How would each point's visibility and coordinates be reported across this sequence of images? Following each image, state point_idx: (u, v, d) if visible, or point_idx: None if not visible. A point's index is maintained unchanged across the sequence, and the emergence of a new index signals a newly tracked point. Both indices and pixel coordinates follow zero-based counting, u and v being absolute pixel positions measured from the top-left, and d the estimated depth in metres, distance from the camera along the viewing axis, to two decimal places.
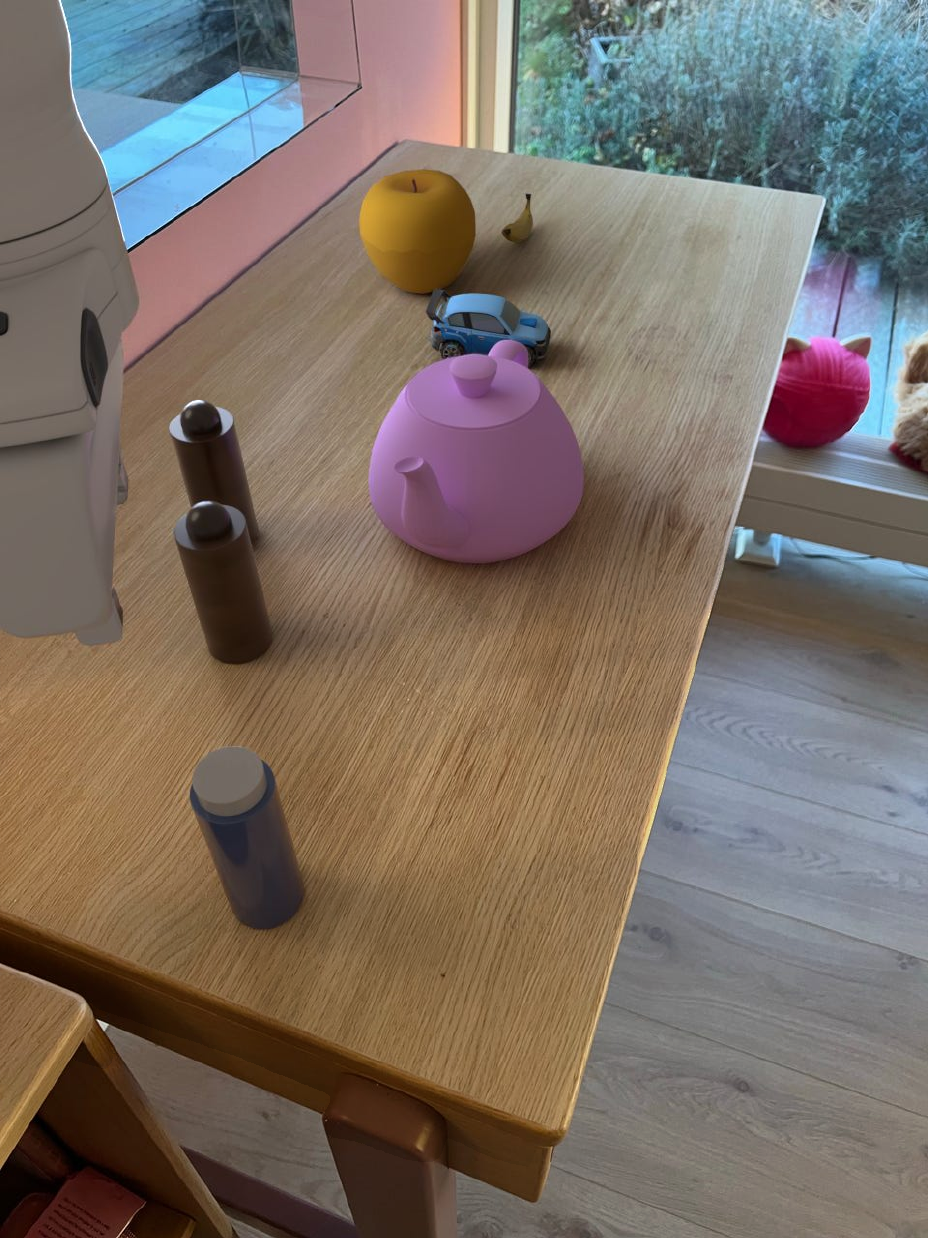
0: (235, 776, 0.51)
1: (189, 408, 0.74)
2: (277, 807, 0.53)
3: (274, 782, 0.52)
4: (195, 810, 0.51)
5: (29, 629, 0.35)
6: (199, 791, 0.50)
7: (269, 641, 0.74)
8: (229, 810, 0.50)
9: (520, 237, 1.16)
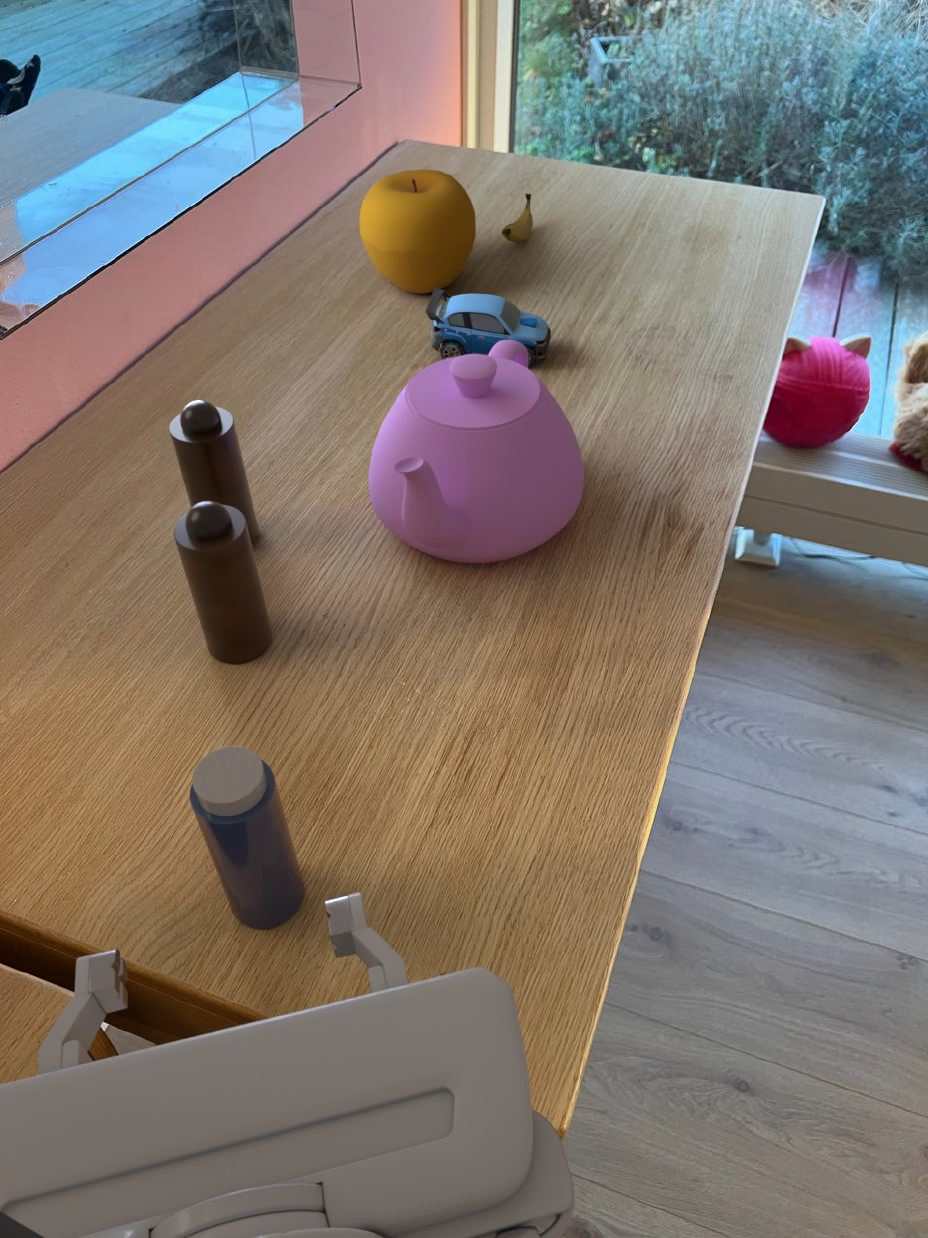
0: (235, 776, 0.51)
1: (189, 408, 0.74)
2: (277, 807, 0.53)
3: (274, 782, 0.52)
4: (195, 810, 0.51)
5: None
6: (199, 791, 0.50)
7: (269, 641, 0.74)
8: (229, 810, 0.50)
9: (520, 237, 1.16)
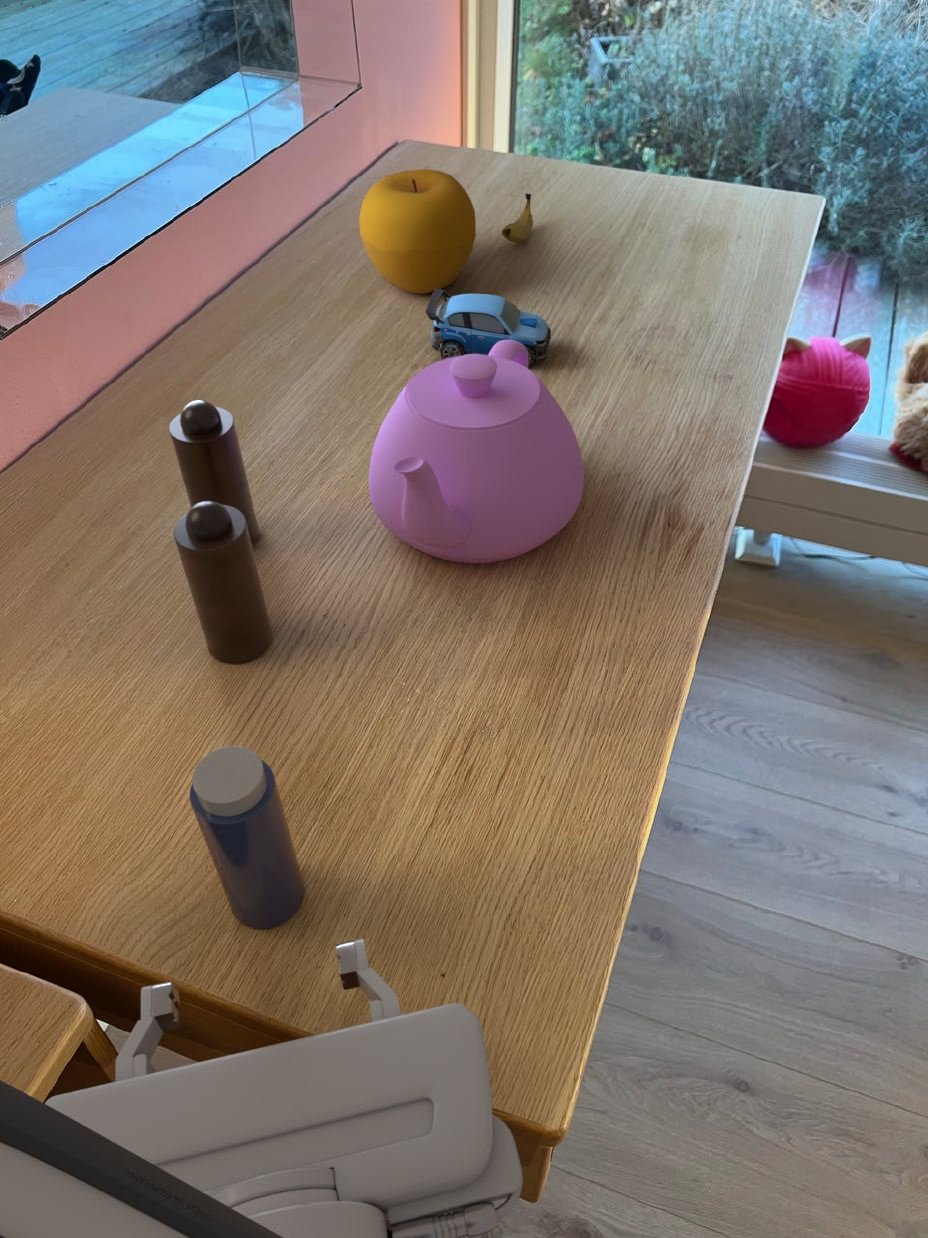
0: (235, 776, 0.51)
1: (189, 408, 0.74)
2: (277, 807, 0.53)
3: (274, 782, 0.52)
4: (195, 810, 0.51)
5: None
6: (199, 791, 0.50)
7: (269, 641, 0.74)
8: (229, 810, 0.50)
9: (520, 237, 1.16)
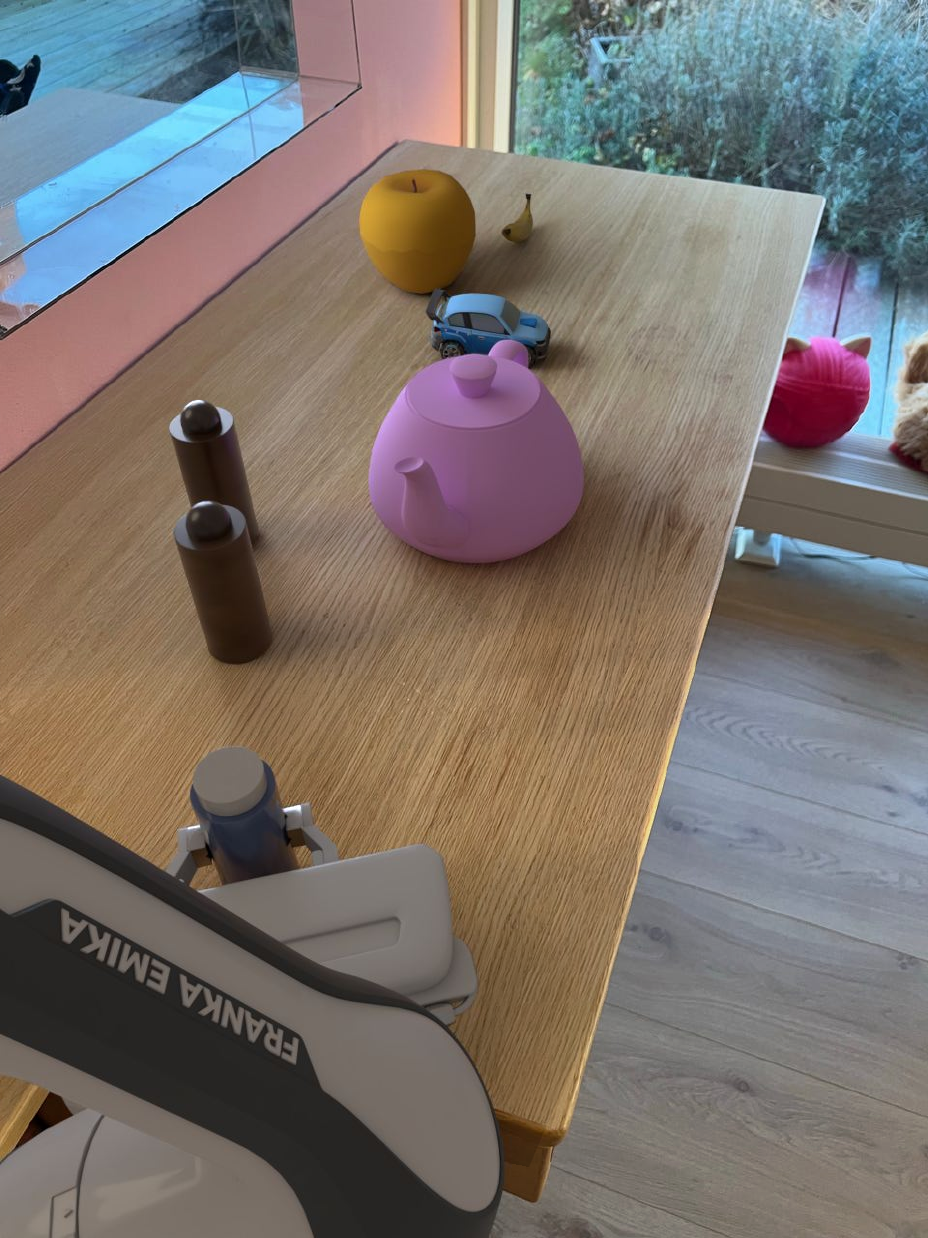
0: (235, 776, 0.51)
1: (189, 408, 0.74)
2: (277, 807, 0.53)
3: (274, 782, 0.52)
4: (195, 810, 0.51)
5: None
6: (199, 791, 0.50)
7: (269, 641, 0.74)
8: (230, 810, 0.50)
9: (520, 237, 1.16)
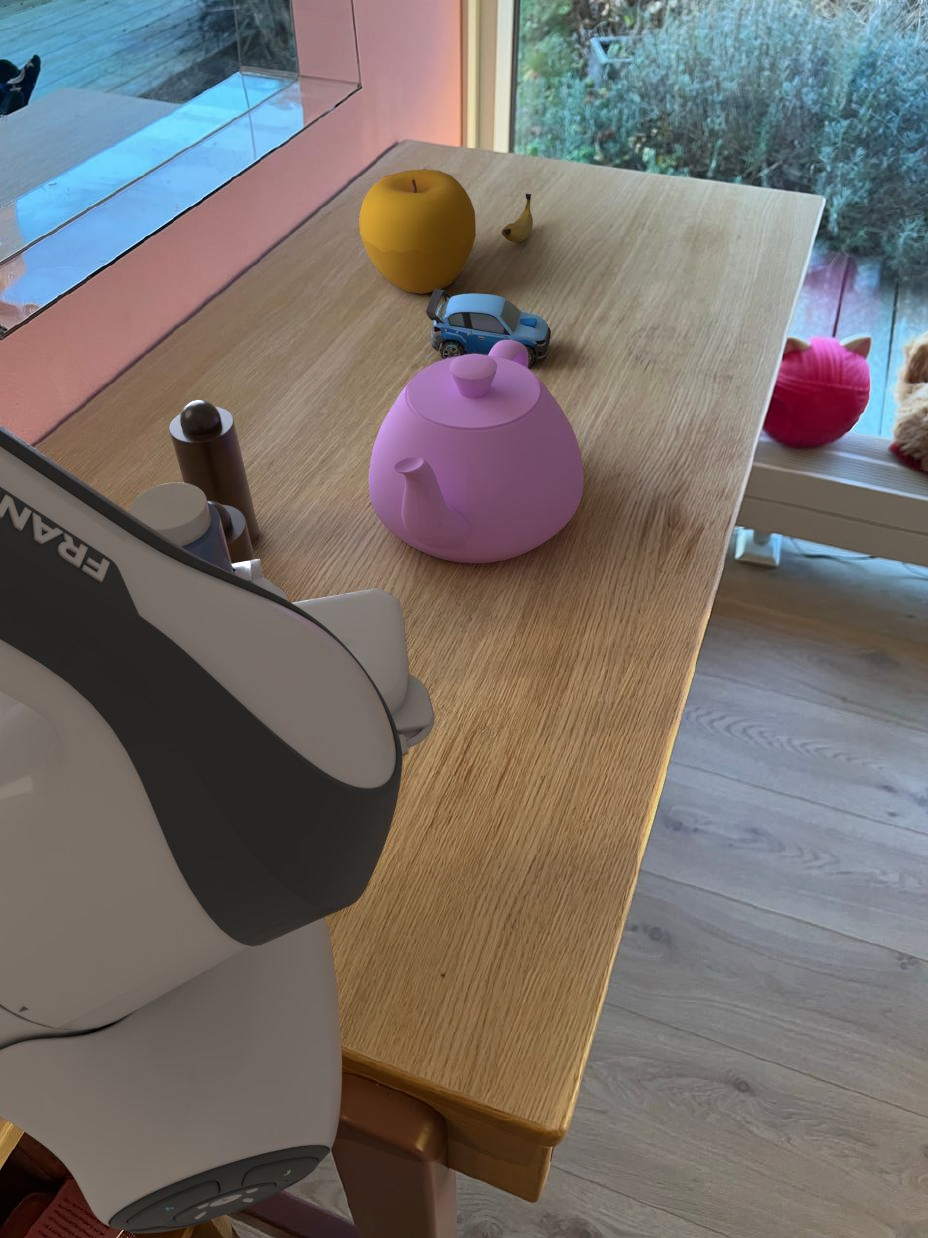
0: (176, 507, 0.47)
1: (189, 408, 0.74)
2: (223, 550, 0.49)
3: (219, 520, 0.48)
4: None
5: None
6: None
7: None
8: None
9: (520, 237, 1.16)
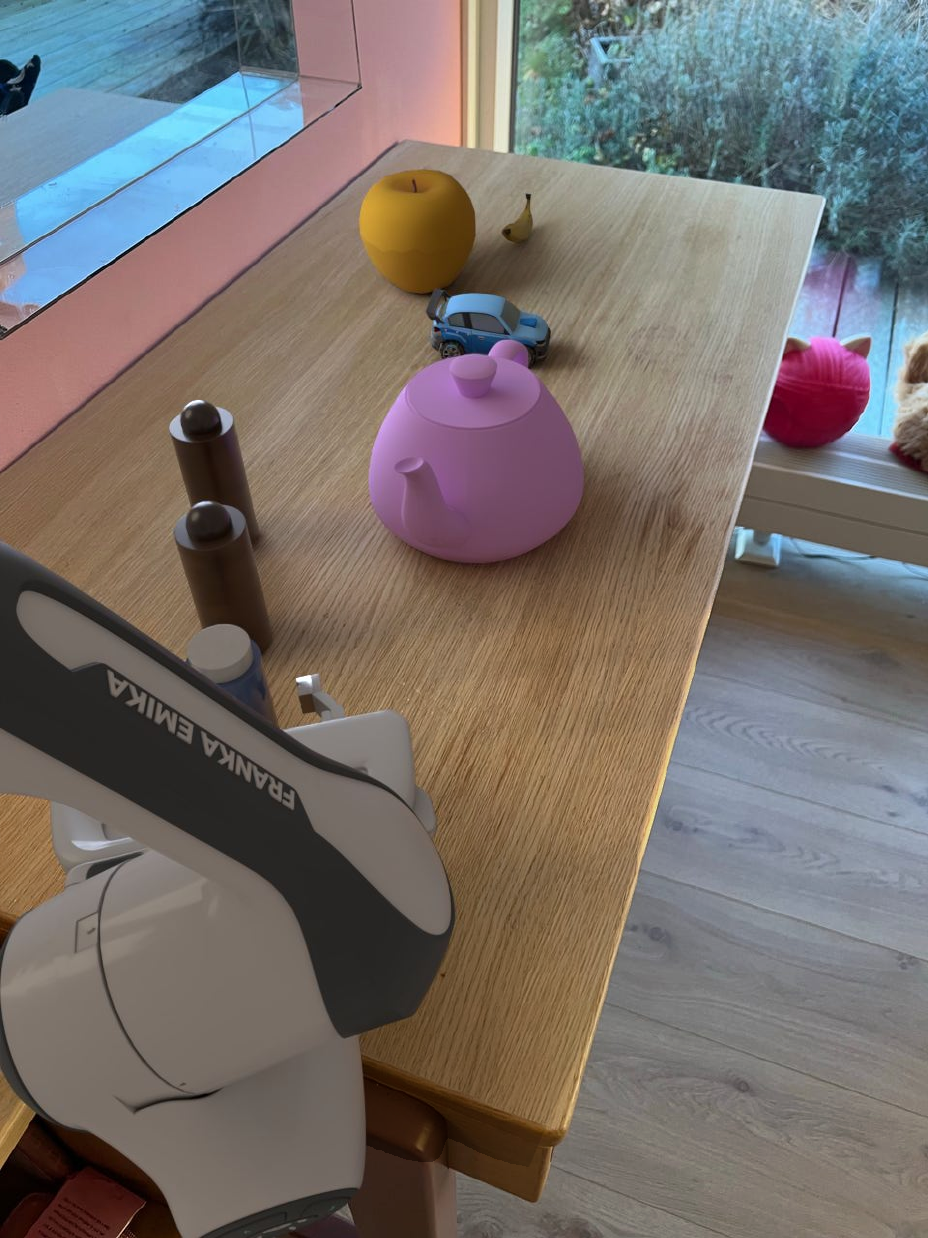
0: (225, 648, 0.57)
1: (189, 408, 0.74)
2: (263, 679, 0.59)
3: (260, 656, 0.58)
4: None
5: None
6: (193, 660, 0.57)
7: (269, 641, 0.74)
8: (220, 677, 0.57)
9: (520, 237, 1.16)
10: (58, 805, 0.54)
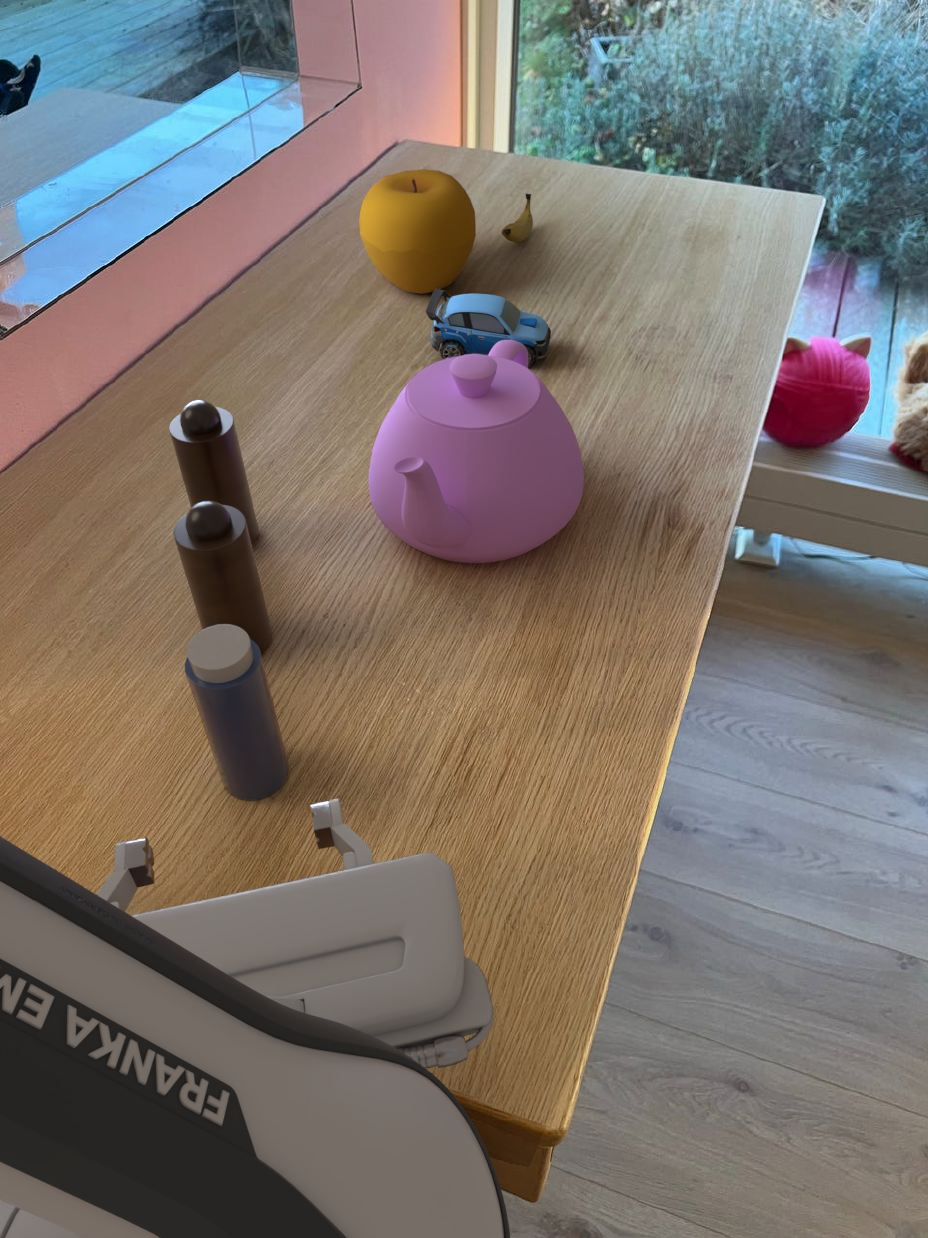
0: (225, 648, 0.57)
1: (189, 408, 0.74)
2: (263, 679, 0.59)
3: (260, 656, 0.58)
4: (189, 678, 0.57)
5: None
6: (193, 660, 0.57)
7: (269, 641, 0.74)
8: (220, 677, 0.57)
9: (520, 237, 1.16)
10: None
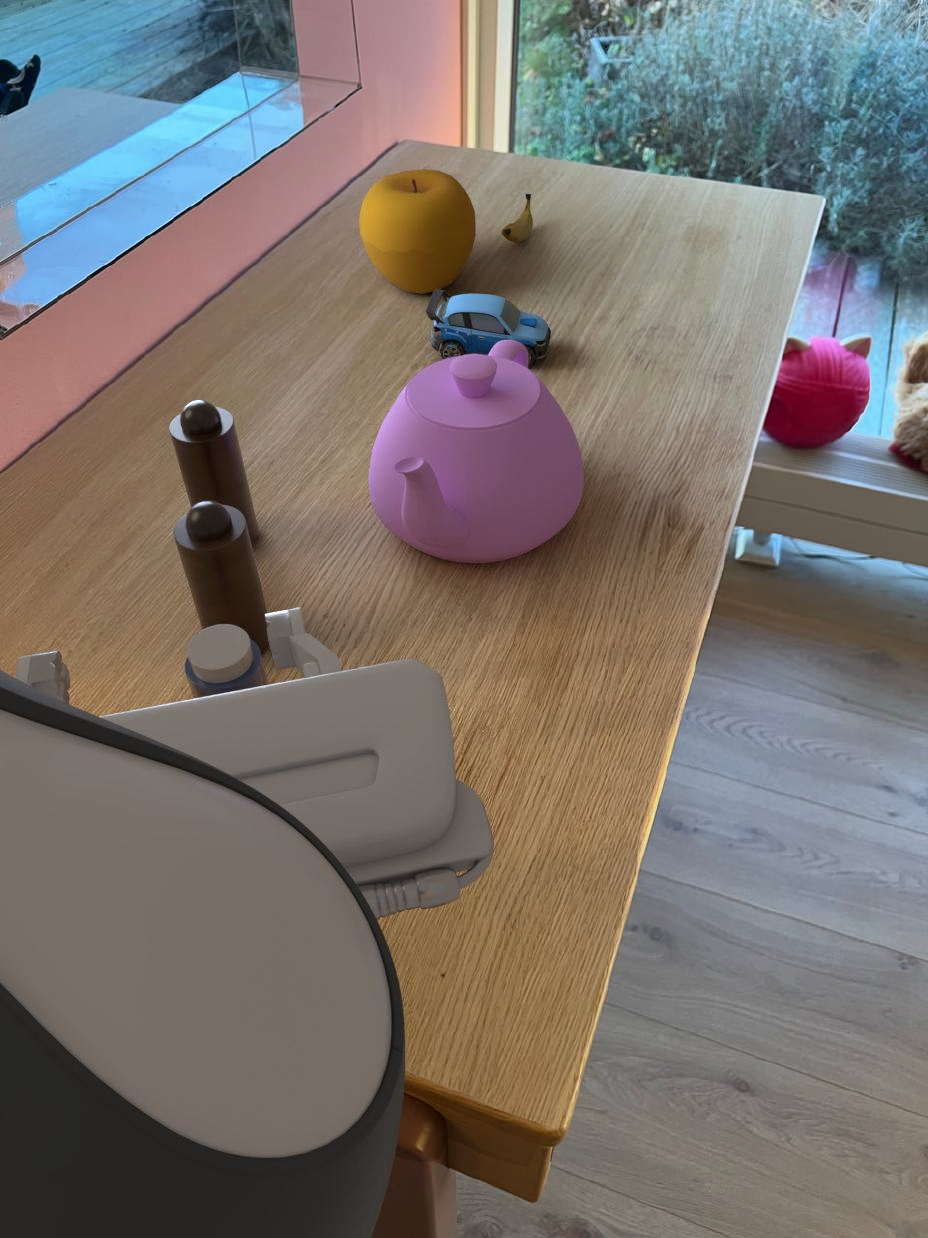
0: (225, 648, 0.57)
1: (189, 408, 0.74)
2: (263, 679, 0.59)
3: (260, 656, 0.58)
4: (189, 678, 0.57)
5: None
6: (193, 660, 0.57)
7: None
8: (220, 677, 0.57)
9: (520, 237, 1.16)
10: None
